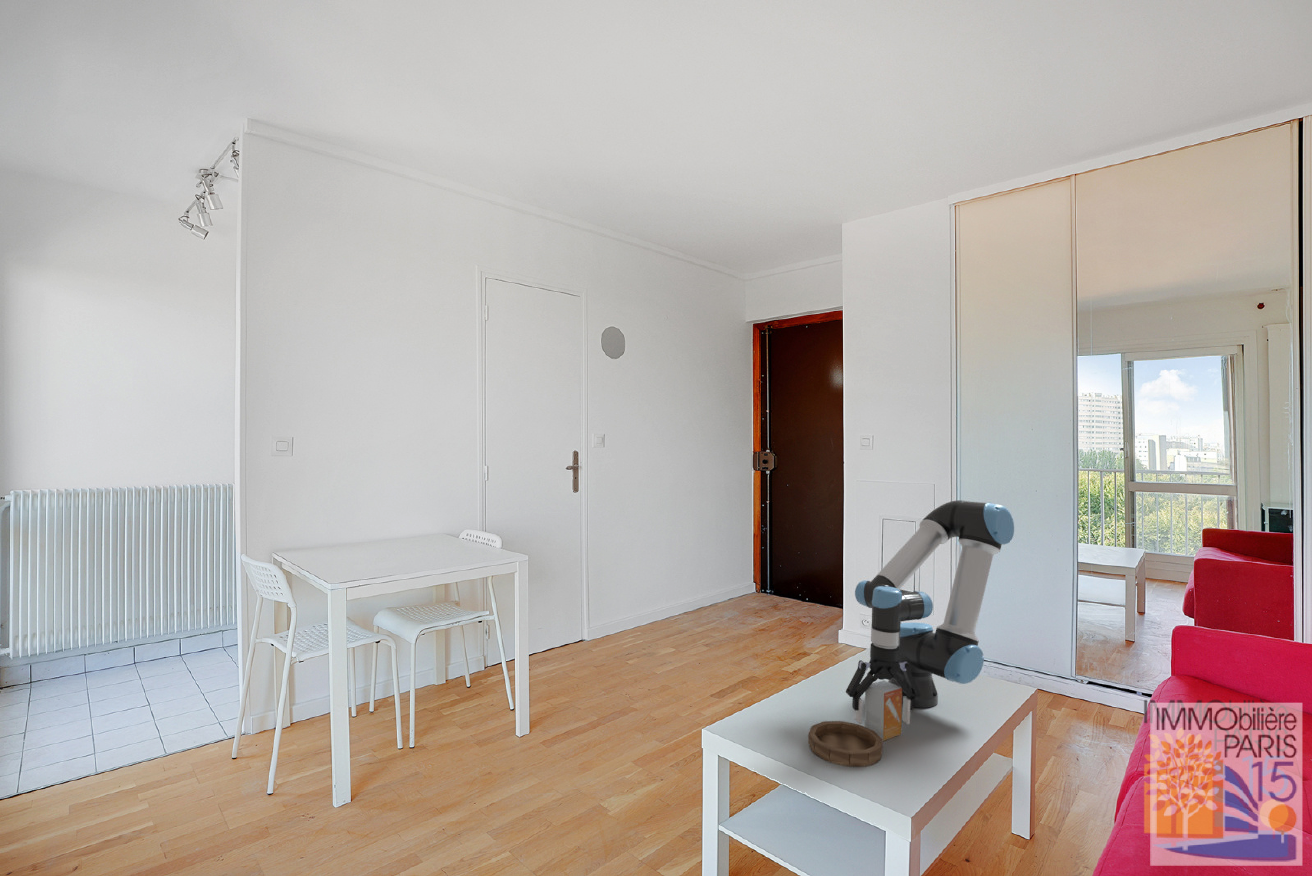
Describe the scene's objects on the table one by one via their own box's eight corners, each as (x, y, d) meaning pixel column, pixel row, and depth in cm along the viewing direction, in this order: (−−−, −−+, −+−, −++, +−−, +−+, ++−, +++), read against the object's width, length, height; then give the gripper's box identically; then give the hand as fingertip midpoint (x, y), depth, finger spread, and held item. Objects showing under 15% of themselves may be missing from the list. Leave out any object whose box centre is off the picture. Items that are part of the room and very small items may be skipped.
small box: (883, 742, 169) (884, 693, 169) (863, 732, 174) (864, 685, 174) (902, 734, 173) (902, 687, 173) (882, 725, 178) (883, 679, 178)
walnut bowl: (863, 732, 174) (864, 720, 174) (894, 765, 156) (894, 752, 156) (800, 734, 172) (800, 722, 172) (823, 768, 154) (823, 754, 154)
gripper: (921, 640, 178) (918, 716, 178) (835, 639, 176) (832, 715, 176) (935, 649, 171) (932, 728, 171) (846, 648, 169) (843, 727, 168)
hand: (881, 722), depth 173 cm, fingers open, 13 cm apart
